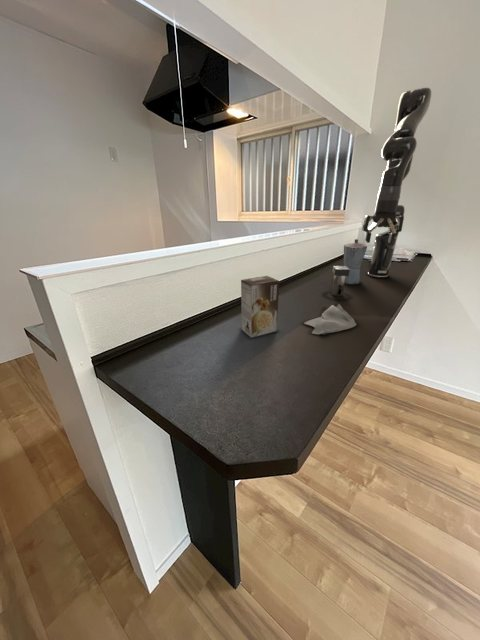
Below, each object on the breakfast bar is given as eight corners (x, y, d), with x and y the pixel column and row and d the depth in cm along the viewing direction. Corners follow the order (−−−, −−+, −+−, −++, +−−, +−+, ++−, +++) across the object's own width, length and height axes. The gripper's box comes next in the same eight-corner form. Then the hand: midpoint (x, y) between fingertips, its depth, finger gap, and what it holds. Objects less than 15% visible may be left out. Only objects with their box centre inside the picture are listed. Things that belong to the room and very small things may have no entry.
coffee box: (265, 323, 85) (267, 274, 78) (277, 331, 80) (280, 280, 73) (240, 329, 81) (240, 279, 74) (251, 338, 76) (251, 285, 69)
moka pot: (337, 286, 120) (344, 240, 111) (339, 277, 132) (345, 235, 124) (359, 288, 116) (369, 242, 108) (359, 279, 129) (367, 237, 121)
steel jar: (329, 291, 110) (333, 265, 105) (342, 292, 109) (346, 266, 105) (332, 297, 104) (336, 270, 99) (346, 298, 103) (351, 271, 98)
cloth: (338, 342, 74) (339, 335, 73) (295, 327, 82) (296, 321, 81) (369, 314, 91) (370, 308, 90) (331, 304, 100) (332, 298, 99)
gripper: (403, 199, 104) (393, 241, 110) (365, 199, 106) (358, 241, 112) (412, 199, 97) (400, 244, 104) (371, 199, 99) (363, 243, 105)
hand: (378, 242), depth 108 cm, fingers open, 8 cm apart
